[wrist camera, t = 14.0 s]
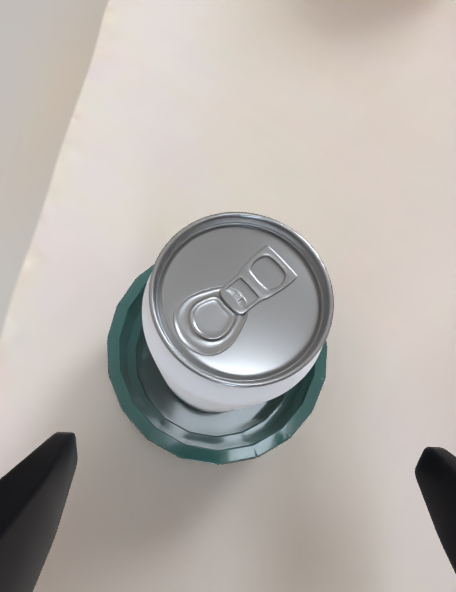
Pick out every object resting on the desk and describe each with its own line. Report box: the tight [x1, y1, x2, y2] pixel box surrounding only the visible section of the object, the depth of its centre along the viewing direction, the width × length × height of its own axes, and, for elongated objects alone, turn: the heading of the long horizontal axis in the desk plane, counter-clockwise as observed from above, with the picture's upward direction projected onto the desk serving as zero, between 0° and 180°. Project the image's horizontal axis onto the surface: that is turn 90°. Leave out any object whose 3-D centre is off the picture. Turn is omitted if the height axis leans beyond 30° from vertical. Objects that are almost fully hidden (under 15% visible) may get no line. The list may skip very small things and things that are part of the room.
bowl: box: [107, 264, 327, 465], centre depth 19 cm, size 11×11×5 cm
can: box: [142, 212, 334, 413], centre depth 16 cm, size 6×6×12 cm
